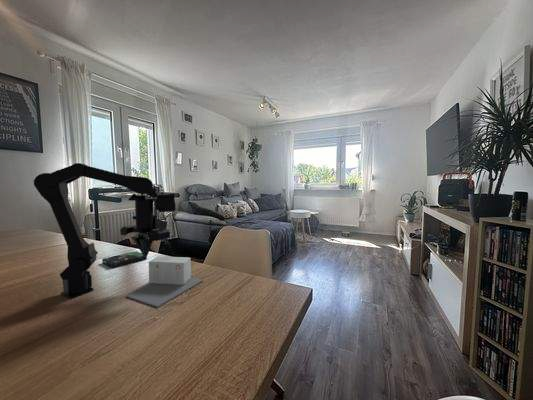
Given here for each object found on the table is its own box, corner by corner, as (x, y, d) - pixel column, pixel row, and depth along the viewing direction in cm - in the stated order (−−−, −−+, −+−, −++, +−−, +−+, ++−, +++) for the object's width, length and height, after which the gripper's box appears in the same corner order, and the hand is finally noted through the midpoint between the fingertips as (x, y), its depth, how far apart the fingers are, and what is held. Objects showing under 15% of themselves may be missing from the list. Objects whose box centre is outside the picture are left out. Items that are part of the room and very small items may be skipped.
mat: (157, 307, 68) (157, 306, 68) (126, 297, 74) (126, 295, 74) (202, 281, 86) (202, 280, 86) (174, 274, 92) (174, 273, 92)
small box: (158, 276, 89) (191, 278, 88) (148, 283, 83) (183, 285, 82) (157, 255, 88) (191, 257, 87) (148, 261, 82) (183, 263, 81)
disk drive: (112, 270, 97) (147, 260, 109) (111, 263, 96) (147, 254, 108) (102, 264, 103) (136, 255, 115) (101, 258, 102) (136, 250, 114)
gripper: (181, 212, 86) (181, 253, 87) (146, 208, 93) (147, 246, 95) (155, 216, 76) (156, 262, 77) (118, 211, 83) (120, 254, 85)
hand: (145, 255), depth 84 cm, fingers closed
